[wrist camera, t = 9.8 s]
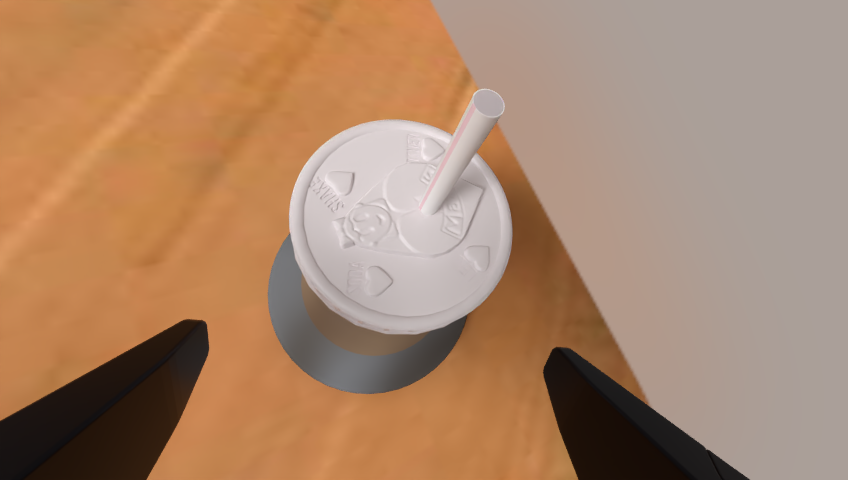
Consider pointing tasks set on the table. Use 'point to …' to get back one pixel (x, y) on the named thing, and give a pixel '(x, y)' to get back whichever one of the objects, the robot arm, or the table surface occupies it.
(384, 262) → the white drink cup
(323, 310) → the pedestal
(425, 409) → the table surface
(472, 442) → the table surface
